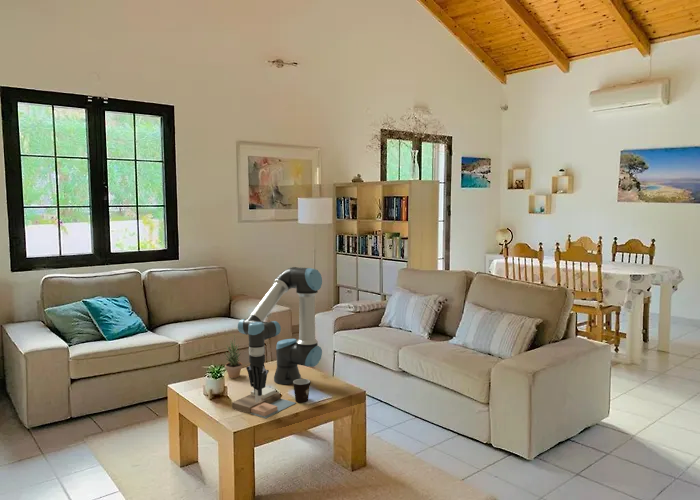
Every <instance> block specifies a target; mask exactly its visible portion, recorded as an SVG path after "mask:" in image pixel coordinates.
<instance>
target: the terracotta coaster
mask: <svg viewBox="0 0 700 500" xmlns="http://www.w3.org/2000/svg"><path fill="white" fill-rule="evenodd" d="M277 410H278V409H277V406H275V405H272V404H268V403H265V402H263V403H261V404H259V405H257V406H255V407H252V408H251V412H252V413H255V414H258V415H261V416H267V415H269V414H271V413H273V412H275V411H277Z"/></svg>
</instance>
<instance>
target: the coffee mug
mask: <svg viewBox="0 0 700 500" xmlns="http://www.w3.org/2000/svg"><path fill="white" fill-rule="evenodd" d="M310 386H311V380H310V379H308V378H301V379H297V380H294V381H293V392H294V393H293V394H294V398H295V399H294V400H295V403H296V404H297V403H298V404H305V403H307V402H308V401H309V396H310V395H309V394H310Z"/></svg>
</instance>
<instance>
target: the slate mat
mask: <svg viewBox="0 0 700 500" xmlns="http://www.w3.org/2000/svg"><path fill="white" fill-rule="evenodd" d="M271 404H272V405H275V406H277V409H278V410H277V411H275V412H273V413H271V414H269V415H267V416H261V415H258V414H255V413H250V414H251V415H253V416H257V417H259V418H263V419H268V418H269V417H272V416H274V415H277V414H278V413H280V412H282V411H284V410H286V409H288V408H289V407H292V406H294V405H296V404H297V402H296V401H292V400H288V399H285V398H280V399H279V400H277V401H275V402H273V403H271Z"/></svg>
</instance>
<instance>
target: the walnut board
mask: <svg viewBox="0 0 700 500" xmlns="http://www.w3.org/2000/svg"><path fill="white" fill-rule="evenodd" d="M279 399H281V393H279V392H276V394H273V395H271V396H269V397H267V398H265V399H262V398H261V401H260V402H258V403H257V402H255V396H252V395H251V393H250V394H248V395H245V396H243V397H241V398H238V399H236V400H234V401H232V402H231V409H234V410H237V411H240V412H243V413H247V414H250V413H252V412H251V408H252V407H255V406H257V405H259V404H261V403H263V402H265V403H268V404H271V403H273V402H275V401H277V400H279Z"/></svg>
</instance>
